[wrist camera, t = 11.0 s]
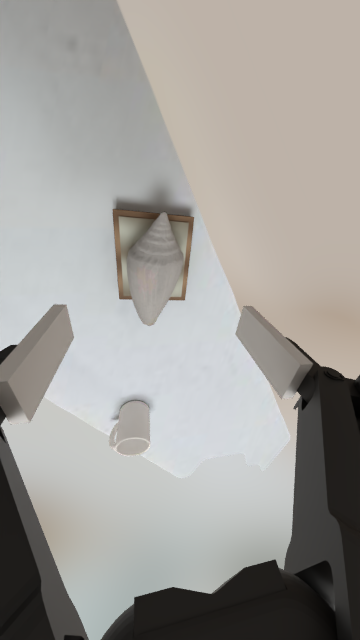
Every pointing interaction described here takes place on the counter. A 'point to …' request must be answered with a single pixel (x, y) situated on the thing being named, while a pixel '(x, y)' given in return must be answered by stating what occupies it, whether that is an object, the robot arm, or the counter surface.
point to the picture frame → (133, 228)
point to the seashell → (154, 269)
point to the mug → (132, 429)
